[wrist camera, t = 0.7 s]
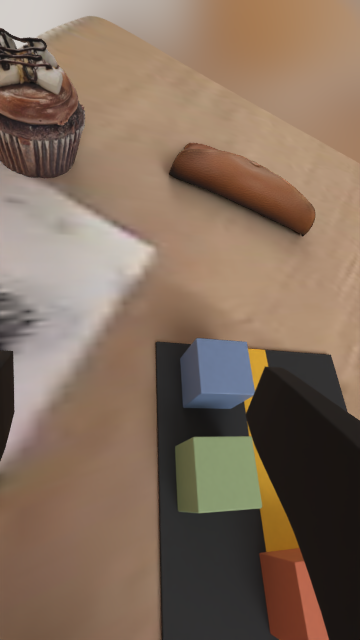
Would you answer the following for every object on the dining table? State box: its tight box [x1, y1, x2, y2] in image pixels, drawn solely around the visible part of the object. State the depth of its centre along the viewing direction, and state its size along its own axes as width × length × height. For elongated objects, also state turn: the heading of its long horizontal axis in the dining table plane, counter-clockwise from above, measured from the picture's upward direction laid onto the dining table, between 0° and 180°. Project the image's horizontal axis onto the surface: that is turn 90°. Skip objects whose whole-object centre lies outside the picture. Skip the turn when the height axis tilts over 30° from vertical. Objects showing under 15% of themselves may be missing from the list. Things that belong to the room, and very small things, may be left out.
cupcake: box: [0, 28, 85, 178], centre depth 30 cm, size 10×10×10 cm
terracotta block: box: [259, 548, 329, 640], centre depth 20 cm, size 4×4×4 cm
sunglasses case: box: [169, 143, 315, 236], centre depth 40 cm, size 18×7×7 cm
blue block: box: [180, 338, 255, 409], centre depth 26 cm, size 4×4×4 cm
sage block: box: [175, 436, 262, 513], centre depth 22 cm, size 4×4×4 cm
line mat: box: [156, 342, 347, 640], centre depth 26 cm, size 21×18×1 cm
